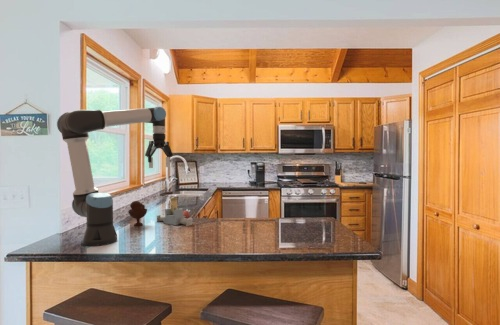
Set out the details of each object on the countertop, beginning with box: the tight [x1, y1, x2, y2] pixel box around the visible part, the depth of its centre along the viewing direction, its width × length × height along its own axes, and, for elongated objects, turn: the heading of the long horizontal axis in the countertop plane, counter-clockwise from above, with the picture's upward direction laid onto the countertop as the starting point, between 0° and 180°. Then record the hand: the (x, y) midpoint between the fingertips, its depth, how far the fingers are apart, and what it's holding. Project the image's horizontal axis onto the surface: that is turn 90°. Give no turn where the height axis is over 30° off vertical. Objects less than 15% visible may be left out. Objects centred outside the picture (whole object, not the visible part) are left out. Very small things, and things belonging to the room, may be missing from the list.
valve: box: [156, 207, 194, 227], centre depth 192 cm, size 15×26×9 cm, turn 59°
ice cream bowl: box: [127, 200, 148, 227], centre depth 184 cm, size 11×11×15 cm
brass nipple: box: [170, 196, 178, 215], centre depth 189 cm, size 4×4×12 cm
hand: (159, 167), depth 189 cm, fingers open, 13 cm apart
